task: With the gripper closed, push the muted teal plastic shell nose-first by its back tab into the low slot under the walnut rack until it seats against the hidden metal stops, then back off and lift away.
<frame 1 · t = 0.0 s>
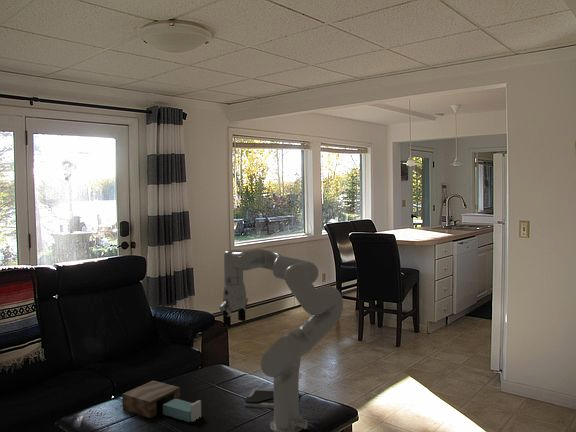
hand: (234, 323, 196), 37 cm above the table, tool pointing down, fingers open, 9 cm apart
picture frame: (272, 402, 210), on the table
teal shell: (181, 414, 197), on the table
walnut rack: (151, 405, 205), on the table
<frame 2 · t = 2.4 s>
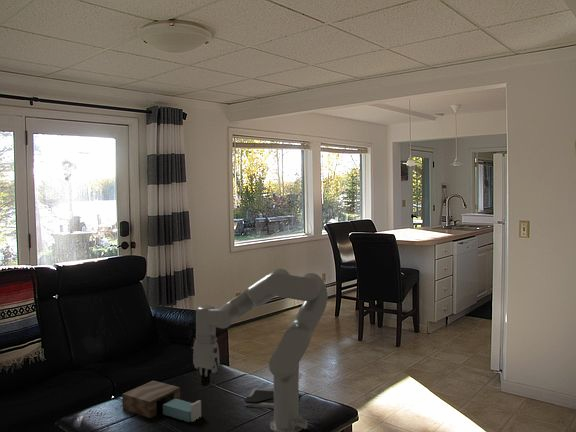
hand: (205, 384, 189), 15 cm above the table, tool pointing down, fingers closed
nothing on the table moved.
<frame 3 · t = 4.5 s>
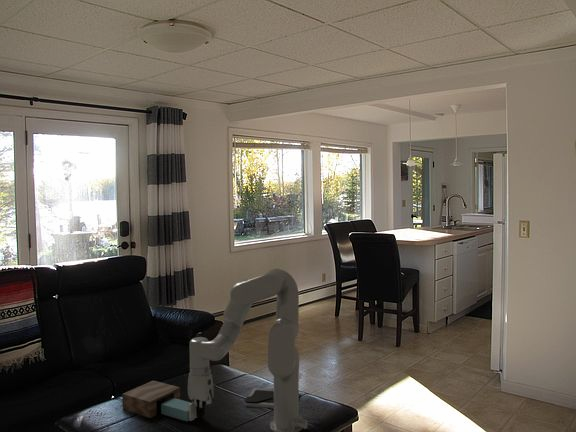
hand: (200, 416, 191), 2 cm above the table, tool pointing down, fingers closed
teal shell: (180, 414, 197), on the table, touching gripper
everything else where it was.
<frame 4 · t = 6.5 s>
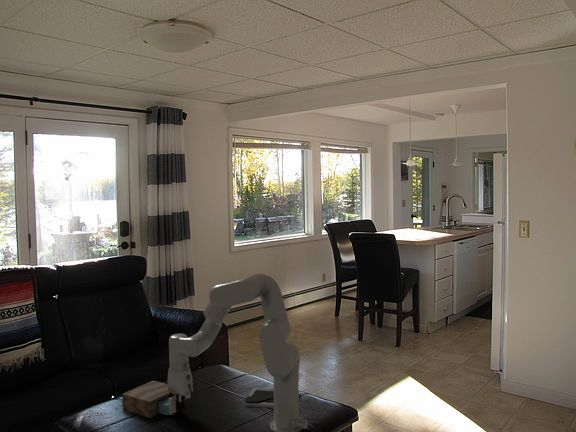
hand: (180, 410, 197), 2 cm above the table, tool pointing down, fingers closed
teal shell: (160, 408, 203), on the table, touching gripper
everything else where it was.
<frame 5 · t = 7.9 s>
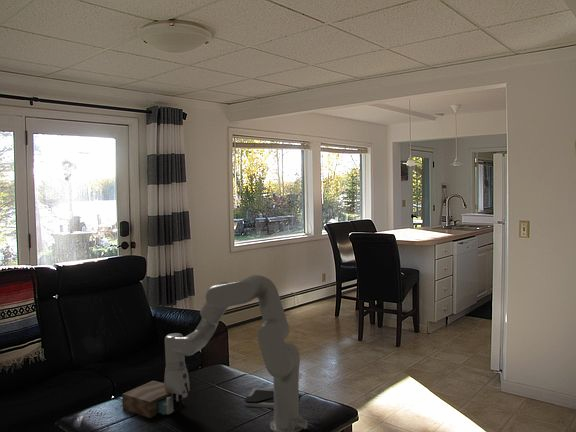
hand: (177, 409, 198), 2 cm above the table, tool pointing down, fingers closed
teal shell: (158, 407, 203), on the table, touching gripper, walnut rack
everything else where it was.
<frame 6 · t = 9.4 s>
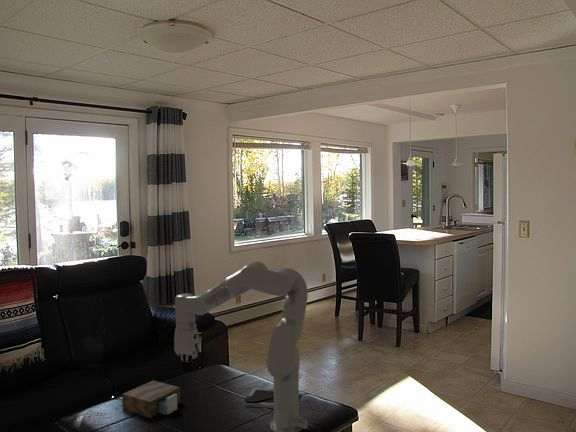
hand: (187, 370, 194), 18 cm above the table, tool pointing down, fingers closed
teal shell: (158, 407, 203), on the table
everything else where it was.
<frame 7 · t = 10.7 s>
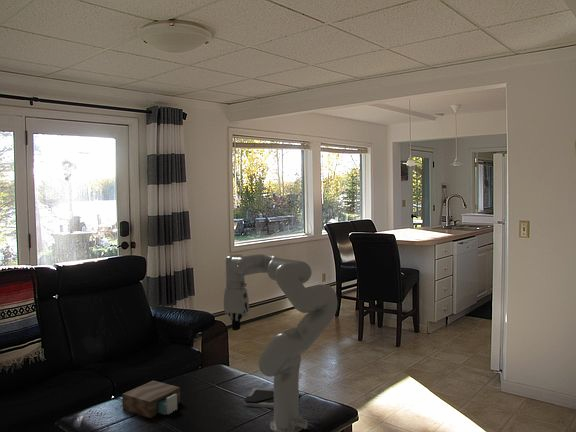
hand: (236, 329, 201), 33 cm above the table, tool pointing down, fingers closed
nothing on the table moved.
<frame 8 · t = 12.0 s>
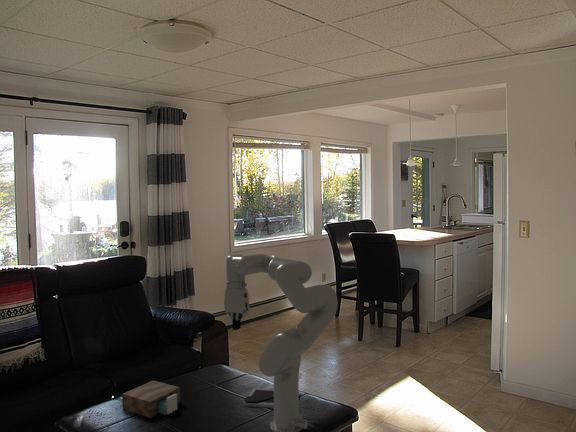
hand: (236, 329, 201), 33 cm above the table, tool pointing down, fingers closed
nothing on the table moved.
at the end: teal shell 0.0 cm from the target spot, on the table; teal shell tilted 0° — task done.
